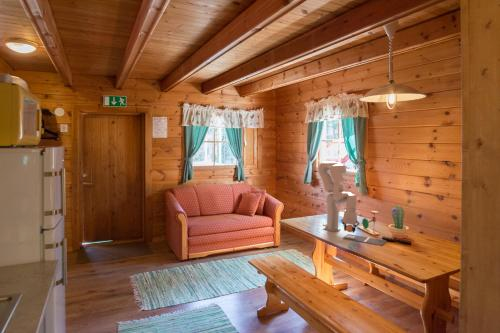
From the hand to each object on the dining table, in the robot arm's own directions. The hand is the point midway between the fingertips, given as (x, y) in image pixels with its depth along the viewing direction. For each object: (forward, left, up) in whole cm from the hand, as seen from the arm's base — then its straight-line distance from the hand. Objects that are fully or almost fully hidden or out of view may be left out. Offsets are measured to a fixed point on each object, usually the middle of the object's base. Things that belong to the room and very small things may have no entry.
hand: (349, 231), depth 270 cm
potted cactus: (+32, +24, -5) cm, 40 cm away
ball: (0, 0, +2) cm, 2 cm away
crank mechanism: (+8, +25, -5) cm, 27 cm away
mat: (+12, -1, -5) cm, 13 cm away
